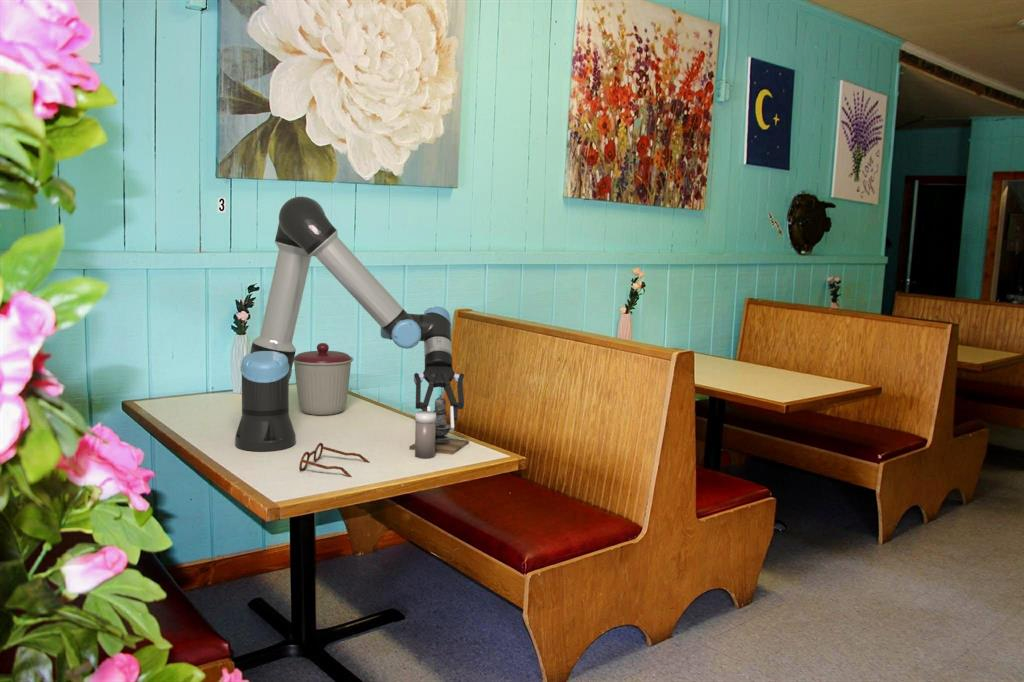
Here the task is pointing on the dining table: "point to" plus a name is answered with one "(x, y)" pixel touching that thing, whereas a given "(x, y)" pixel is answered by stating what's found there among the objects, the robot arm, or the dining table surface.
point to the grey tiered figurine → (441, 420)
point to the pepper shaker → (425, 434)
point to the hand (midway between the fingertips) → (440, 430)
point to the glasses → (320, 456)
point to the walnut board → (447, 446)
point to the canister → (322, 380)
